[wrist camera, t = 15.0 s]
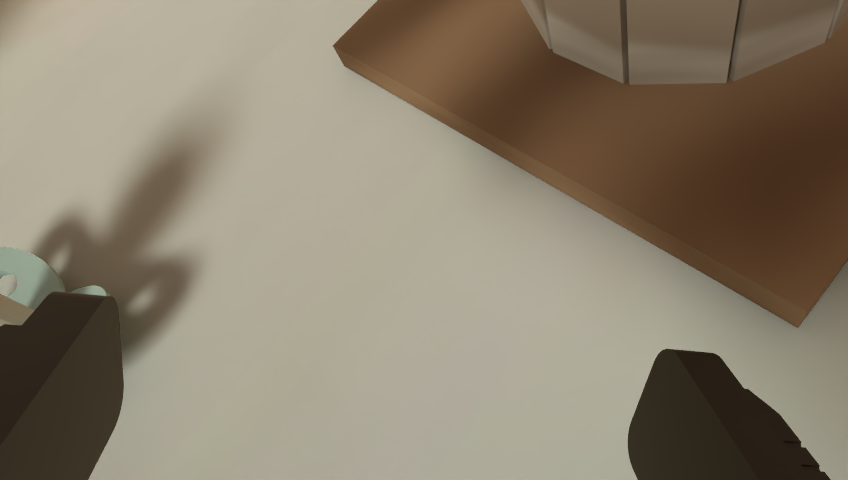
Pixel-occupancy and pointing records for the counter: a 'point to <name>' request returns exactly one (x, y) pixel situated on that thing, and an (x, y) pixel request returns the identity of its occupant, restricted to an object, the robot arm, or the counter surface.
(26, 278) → the pacifier
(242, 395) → the counter surface
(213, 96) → the counter surface
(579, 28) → the ring board
